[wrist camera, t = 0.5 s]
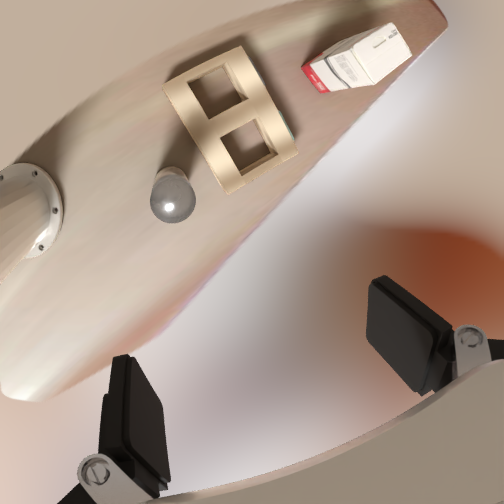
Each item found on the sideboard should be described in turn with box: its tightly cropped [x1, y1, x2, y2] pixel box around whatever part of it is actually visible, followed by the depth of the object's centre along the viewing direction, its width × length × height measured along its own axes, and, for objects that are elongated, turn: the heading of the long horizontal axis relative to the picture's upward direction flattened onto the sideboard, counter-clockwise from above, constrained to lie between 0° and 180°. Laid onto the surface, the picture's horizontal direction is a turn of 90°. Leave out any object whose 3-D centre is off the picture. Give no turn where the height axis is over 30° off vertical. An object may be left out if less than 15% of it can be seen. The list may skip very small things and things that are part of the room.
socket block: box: [162, 46, 299, 195], centre depth 33 cm, size 15×10×3 cm
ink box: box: [301, 22, 412, 94], centre depth 29 cm, size 9×5×12 cm, turn 129°
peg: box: [150, 166, 196, 223], centre depth 30 cm, size 4×4×11 cm
